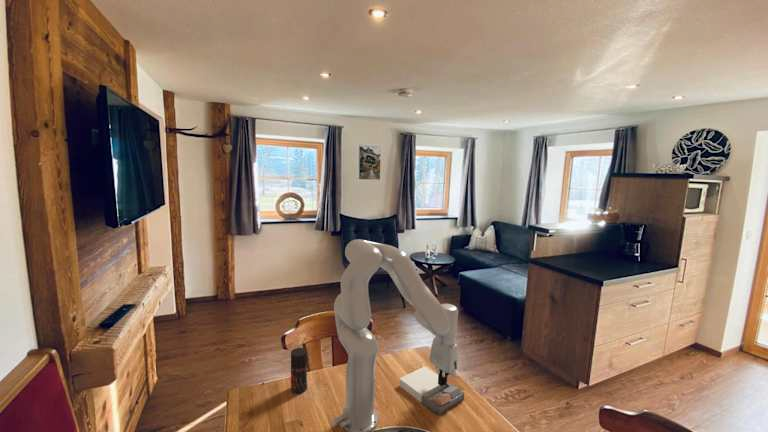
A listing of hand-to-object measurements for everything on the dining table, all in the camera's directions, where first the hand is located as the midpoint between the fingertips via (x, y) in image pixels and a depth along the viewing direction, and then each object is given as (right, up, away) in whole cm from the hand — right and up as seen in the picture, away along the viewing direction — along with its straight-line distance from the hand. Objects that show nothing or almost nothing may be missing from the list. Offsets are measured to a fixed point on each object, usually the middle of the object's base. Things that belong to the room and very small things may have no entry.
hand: (442, 383), depth 127 cm
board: (-7, -3, +5) cm, 9 cm away
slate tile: (+3, -1, -2) cm, 3 cm away
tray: (0, -5, -3) cm, 6 cm away
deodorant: (-54, -3, +1) cm, 54 cm away
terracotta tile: (-2, -1, -6) cm, 7 cm away
